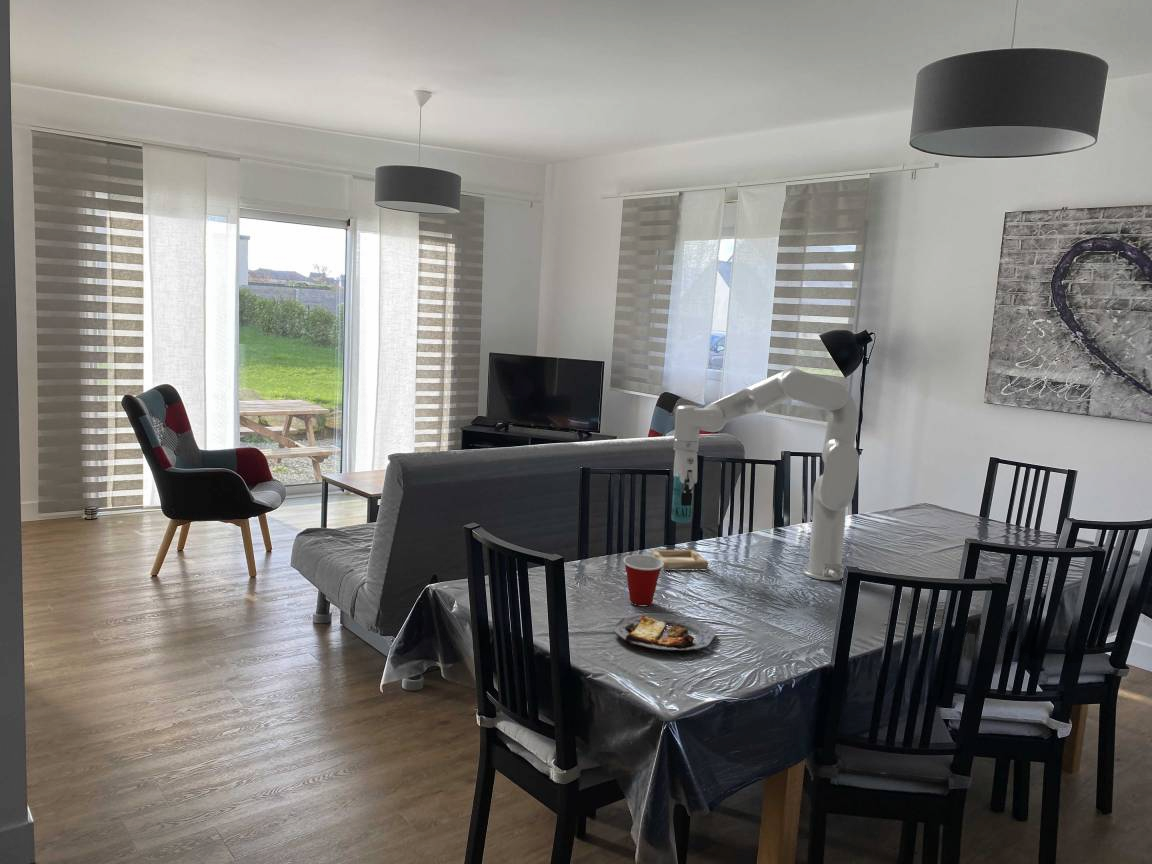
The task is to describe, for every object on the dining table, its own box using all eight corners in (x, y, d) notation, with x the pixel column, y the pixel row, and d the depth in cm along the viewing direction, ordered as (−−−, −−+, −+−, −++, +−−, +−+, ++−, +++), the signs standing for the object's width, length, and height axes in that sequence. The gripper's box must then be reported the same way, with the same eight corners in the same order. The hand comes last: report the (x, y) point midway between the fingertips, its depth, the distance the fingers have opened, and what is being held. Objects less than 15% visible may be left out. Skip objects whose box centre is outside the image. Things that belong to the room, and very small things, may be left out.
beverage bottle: (677, 521, 281) (681, 458, 278) (695, 525, 277) (699, 461, 274) (666, 524, 276) (670, 461, 273) (684, 528, 272) (688, 464, 269)
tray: (707, 570, 273) (708, 562, 272) (663, 570, 270) (664, 562, 270) (692, 557, 286) (693, 549, 286) (651, 557, 284) (651, 550, 283)
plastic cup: (628, 611, 232) (630, 566, 231) (615, 597, 243) (618, 555, 241) (667, 609, 235) (670, 565, 234) (653, 596, 246) (655, 553, 244)
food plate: (699, 664, 199) (700, 649, 198) (601, 647, 207) (602, 632, 207) (723, 632, 222) (724, 618, 221) (634, 617, 230) (635, 604, 230)
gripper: (707, 450, 265) (703, 509, 268) (688, 441, 282) (685, 496, 285) (683, 450, 264) (679, 509, 266) (666, 441, 281) (662, 496, 283)
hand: (682, 502), depth 276 cm, fingers closed on beverage bottle, 6 cm apart
